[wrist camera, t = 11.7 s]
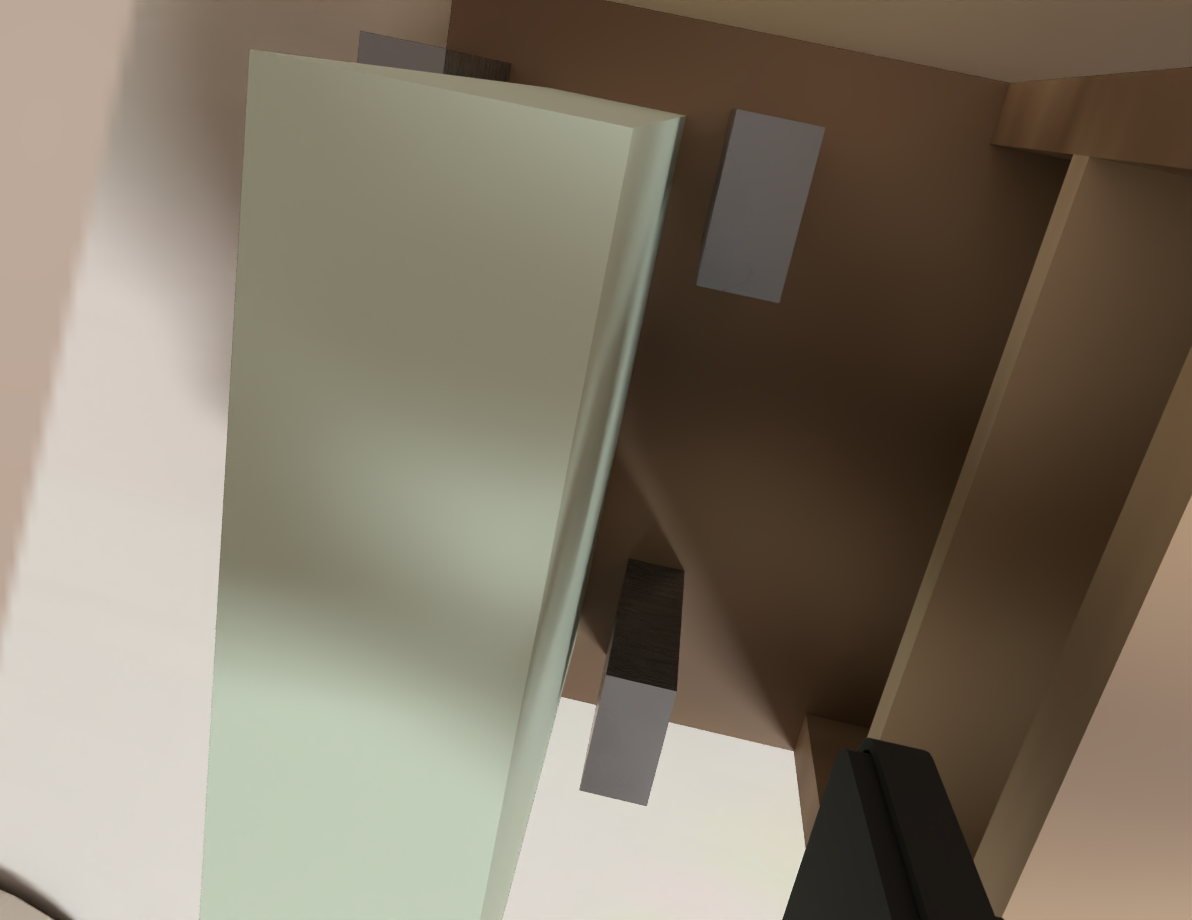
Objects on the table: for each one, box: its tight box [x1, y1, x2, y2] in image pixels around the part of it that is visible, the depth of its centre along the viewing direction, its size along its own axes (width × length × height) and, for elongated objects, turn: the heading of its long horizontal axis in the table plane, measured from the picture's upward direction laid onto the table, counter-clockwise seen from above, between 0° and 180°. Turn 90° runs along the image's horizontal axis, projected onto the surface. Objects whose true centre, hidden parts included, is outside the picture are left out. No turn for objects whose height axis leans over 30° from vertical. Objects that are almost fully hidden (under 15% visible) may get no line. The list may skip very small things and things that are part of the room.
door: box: [199, 49, 686, 920], centre depth 14 cm, size 11×3×12 cm, turn 169°
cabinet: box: [446, 0, 1192, 920], centre depth 15 cm, size 14×20×11 cm
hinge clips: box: [357, 31, 826, 806], centre depth 17 cm, size 11×6×4 cm, turn 169°
